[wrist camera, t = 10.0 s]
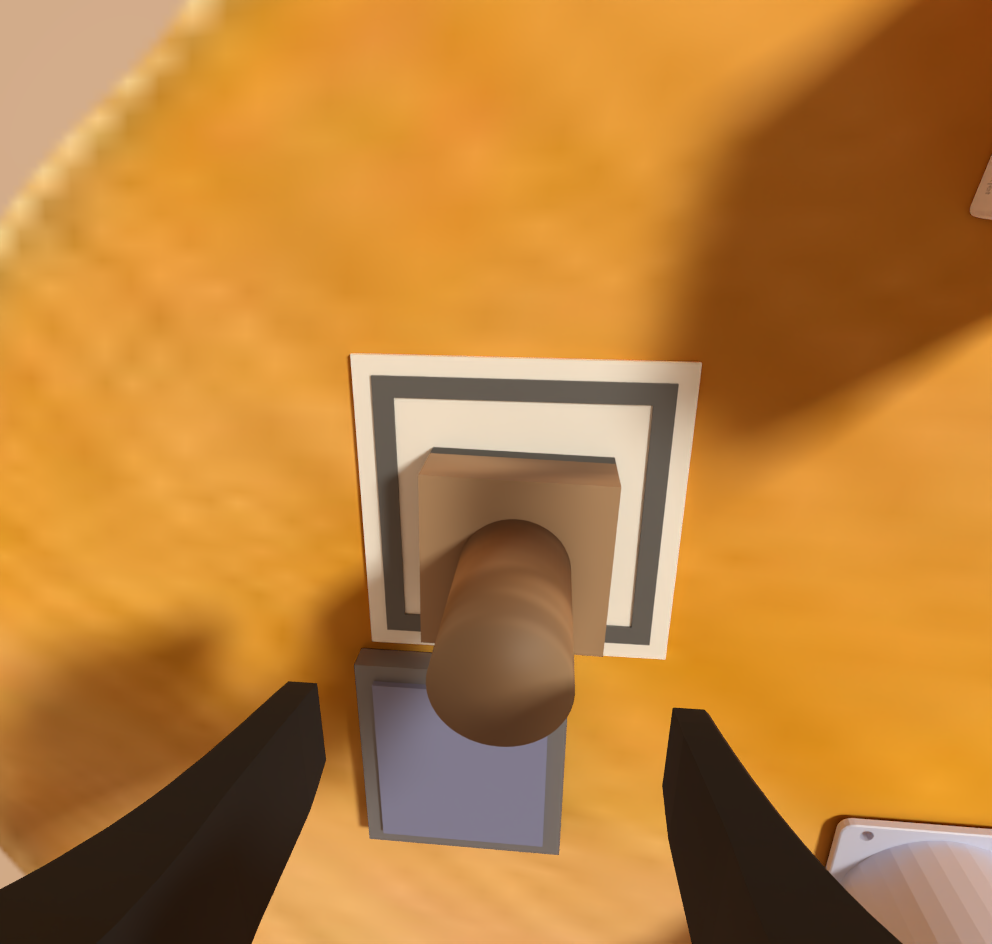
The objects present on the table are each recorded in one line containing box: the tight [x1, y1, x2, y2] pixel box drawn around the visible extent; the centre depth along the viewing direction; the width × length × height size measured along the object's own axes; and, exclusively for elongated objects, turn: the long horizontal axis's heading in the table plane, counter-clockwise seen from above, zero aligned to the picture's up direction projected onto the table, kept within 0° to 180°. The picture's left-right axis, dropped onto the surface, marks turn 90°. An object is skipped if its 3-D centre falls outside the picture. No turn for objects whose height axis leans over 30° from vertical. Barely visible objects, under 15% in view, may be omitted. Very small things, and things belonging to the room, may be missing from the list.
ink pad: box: [354, 648, 567, 855], centre depth 26 cm, size 8×9×1 cm
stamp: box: [418, 447, 621, 747], centre depth 19 cm, size 6×6×8 cm
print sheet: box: [350, 353, 702, 659], centre depth 23 cm, size 11×11×1 cm
